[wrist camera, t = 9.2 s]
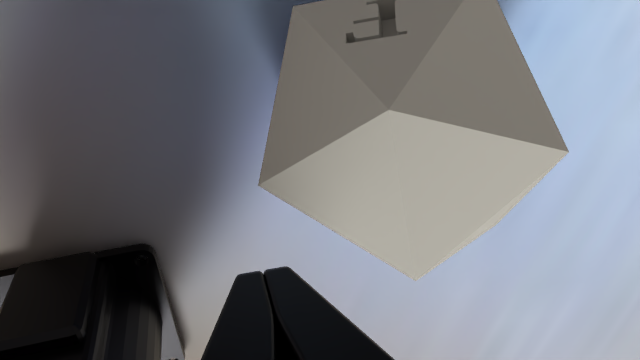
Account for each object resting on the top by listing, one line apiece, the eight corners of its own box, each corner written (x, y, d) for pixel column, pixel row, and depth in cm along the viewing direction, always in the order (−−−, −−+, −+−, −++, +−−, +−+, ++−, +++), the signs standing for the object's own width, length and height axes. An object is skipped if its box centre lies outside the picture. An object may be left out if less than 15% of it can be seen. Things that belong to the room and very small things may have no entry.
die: (510, 6, 20) (569, -131, 11) (534, 235, 20) (614, 295, 11) (299, 41, 22) (194, -51, 13) (322, 251, 22) (234, 315, 13)
